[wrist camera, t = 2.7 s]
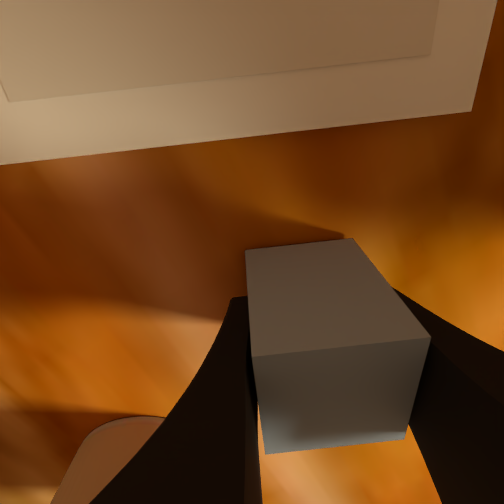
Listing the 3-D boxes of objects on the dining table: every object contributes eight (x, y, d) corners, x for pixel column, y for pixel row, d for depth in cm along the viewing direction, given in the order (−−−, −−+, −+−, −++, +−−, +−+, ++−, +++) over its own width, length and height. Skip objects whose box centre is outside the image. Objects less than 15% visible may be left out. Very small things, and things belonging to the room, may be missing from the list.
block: (352, 238, 11) (431, 337, 7) (346, 320, 13) (404, 439, 8) (244, 250, 11) (251, 357, 7) (254, 330, 13) (265, 454, 8)
